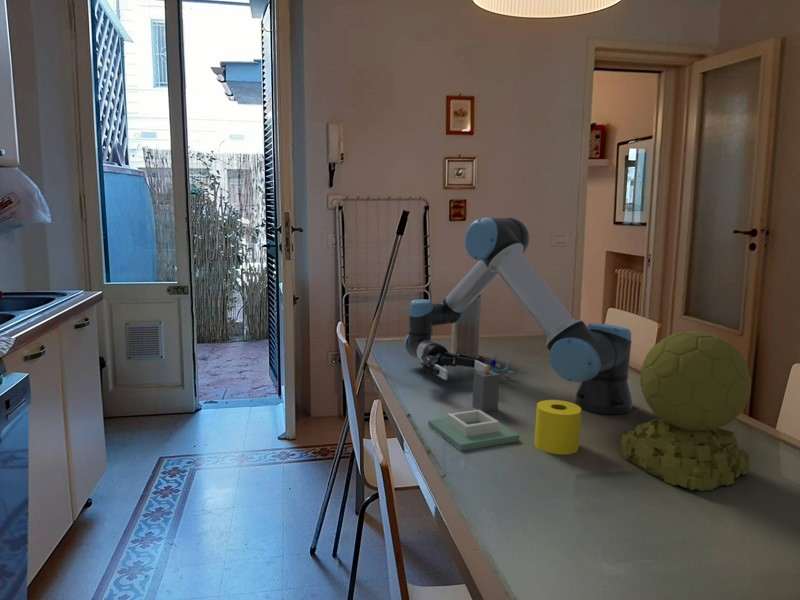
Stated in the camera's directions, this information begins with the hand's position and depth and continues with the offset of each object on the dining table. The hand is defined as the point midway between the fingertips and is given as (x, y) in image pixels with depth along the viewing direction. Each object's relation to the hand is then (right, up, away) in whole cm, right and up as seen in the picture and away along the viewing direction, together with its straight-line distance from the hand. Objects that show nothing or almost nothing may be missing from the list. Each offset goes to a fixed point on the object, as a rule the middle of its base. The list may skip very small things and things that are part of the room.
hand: (467, 372), depth 173 cm
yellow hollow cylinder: (+17, -13, -32) cm, 38 cm away
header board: (-2, -12, -26) cm, 28 cm away
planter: (+4, 0, +47) cm, 47 cm away
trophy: (+43, -16, -41) cm, 61 cm away
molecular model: (+11, -4, +20) cm, 23 cm away
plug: (+4, -9, -8) cm, 12 cm away
